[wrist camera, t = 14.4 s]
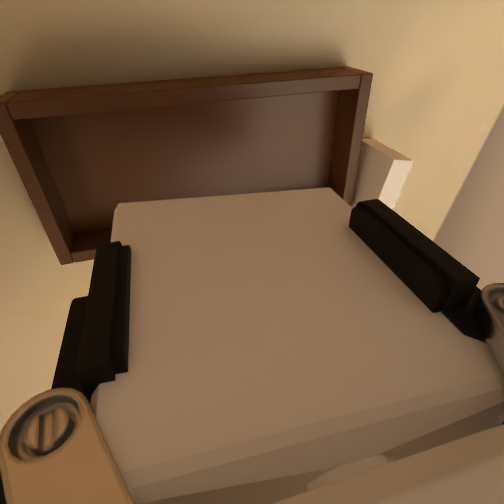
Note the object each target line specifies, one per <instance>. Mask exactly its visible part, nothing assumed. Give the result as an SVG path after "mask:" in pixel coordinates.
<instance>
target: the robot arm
mask: <svg viewBox="0 0 504 504" xmlns="http://www.w3.org/2000/svg"><path fill="white" fill-rule="evenodd" d="M349 228H350V229H351V230H352V231H353V232H354V233H355V234H356V235H357V236H358V237H359V238H360V239H361V240H362V241H363V242H364V243H365V244H366V245H367V246H368V247H369V248H370V249H371V250H372V251H373V252H374V253H375V254H376V255H377V256H378V257H379V258H380V259H381V260H382V261H383V262H384V263H385V265H386V266H387V267H388V268H389V269H390V270H391V271H392V272H393V273H394V274H395V275H396V276H397V277H398V278H399V279H400V280H401V281H402V282H403V283H404V284H405V285H406V286H407V287H408V288H409V289H410V290H411V291H412V292H413V293H414V294H415V295H416V296H417V297H418V298H419V299H420V300H421V301H422V302H423V303H424V305H425V306H426V307H427V308H428V309H429V310H430V311H431V312H432V313H436V312H441V313H442V314H443V315H444V316H445V317H446V318H447V319H448V320H449V321H450V322H451V323H452V324H453V325H454V326H455V327H456V328H457V329H458V330H459V331H460V332H461V333H462V334H463V335H465V336H468V337H471V338H474V339H476V340H479V341H482V342H484V343H487V345H488V347H489V349H490V350H491V352H492V354H493V356H494V358H495V360H496V362H497V364H498V366H499V368H500V370H501V372H502V374H503V376H504V283H493V284H490V285H487V286H485V287H484V288H483V289H482V291H481V290H480V289H479V288H478V287H476V285H477V283H478V281H479V279H480V278H479V277H478V276H476V275H475V274H474V273H472V272H471V271H470V270H468V269H467V268H466V267H465V266H463V265H462V264H461V263H460V262H458V261H457V260H456V259H454V258H453V257H452V256H451V255H449V254H448V253H447V252H446V251H444V250H443V249H442V248H440V247H439V246H438V245H437V244H435V243H434V242H433V241H432V240H430V239H429V238H428V237H426V236H425V235H424V234H423V233H421V232H420V231H419V230H417V229H416V228H415V227H414V226H412V225H411V224H410V223H408V222H407V221H406V220H405V219H403V218H402V217H401V216H400V215H398V214H397V213H396V212H394V211H393V210H392V209H391V208H389V207H388V206H387V205H385V204H384V203H383V202H382V201H380V200H379V199H372V200H365V201H359V202H358V203H357V204H356V207H354V208H352V210H351V215H350V221H349ZM130 282H131V248H130V245H124V246H122V244H121V242H120V241H116V242H110V243H104V244H98V245H97V249H96V254H95V260H94V266H93V271H92V277H91V283H90V288H89V294H88V296H85V297H80V298H75V299H74V300H72V303H71V306H70V310H69V314H68V319H67V323H66V327H65V332H64V336H63V340H62V345H61V349H60V353H59V358H58V362H57V366H56V371H55V375H54V379H53V384H52V388H51V389H50V390H47V391H45V392H42V393H40V394H38V395H36V396H34V397H33V398H31V399H30V400H28V401H27V402H25V403H24V404H22V405H21V406H20V407H19V408H18V409H17V410H16V411H15V412H14V413H13V414H12V415H11V417H10V418H9V419H8V421H7V422H6V424H5V425H4V427H3V428H2V431H1V434H0V504H136V503H135V501H134V499H133V497H132V495H131V493H130V491H129V489H128V487H127V485H126V483H125V480H124V478H123V476H122V474H121V472H120V470H119V468H118V465H117V463H116V461H115V459H114V457H113V454H112V452H111V450H110V448H109V446H108V443H107V441H106V439H105V437H104V435H103V432H102V430H101V428H100V426H99V424H98V421H97V419H96V417H95V414H94V412H93V409H92V407H91V406H90V403H91V395H92V394H93V392H94V391H95V389H96V388H97V387H98V385H99V384H101V383H106V382H111V381H115V374H120V373H126V372H128V354H129V318H130ZM272 504H504V422H503V423H502V424H501V425H499V426H496V427H493V428H490V429H487V430H484V431H481V432H478V433H475V434H472V435H469V436H466V437H464V438H461V439H458V440H455V441H452V442H449V443H446V444H443V445H440V446H437V447H434V448H431V449H429V450H426V451H423V452H420V453H417V454H414V455H411V456H408V457H405V458H402V459H399V460H397V461H394V462H391V463H388V464H385V465H382V466H379V467H376V468H373V469H370V470H367V471H365V472H362V473H359V474H356V475H353V476H350V477H347V478H344V479H341V480H338V481H336V482H333V483H330V484H327V485H324V486H321V487H318V488H315V489H313V490H310V491H307V492H304V493H301V494H298V495H295V496H293V497H290V498H287V499H284V500H281V501H278V502H275V503H272Z"/></svg>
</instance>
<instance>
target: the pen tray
mask: <svg viewBox="0 0 504 504" xmlns="http://www.w3.org/2000/svg"><path fill="white" fill-rule="evenodd" d="M372 76H373V74H372V73H370V72H366V71H362V70H359V69H355V68H351V67H334V68H321V69H307V70H294V71H281V72H267V73H254V74H240V75H227V76H213V77H200V78H187V79H173V80H160V81H146V82H133V83H119V84H106V85H93V86H79V87H66V88H52V89H39V90H25V91H12V92H6V93H5V94H3V95H2V96H0V134H1V136H2V138H3V140H4V142H5V145H6V147H7V149H8V151H9V153H10V155H11V158H12V160H13V162H14V164H15V166H16V168H17V171H18V173H19V175H20V177H21V179H22V182H23V184H24V186H25V188H26V190H27V192H28V195H29V197H30V199H31V201H32V203H33V205H34V208H35V210H36V212H37V214H38V216H39V218H40V221H41V223H42V225H43V227H44V229H45V231H46V234H47V236H48V238H49V240H50V242H51V244H52V247H53V249H54V251H55V253H56V255H57V257H58V260H59V262H60V264H61V265H63V264H69V263H73V262H81V261H87V260H92V259H95V254H96V249H97V245H98V244H104V243H110V242H111V234H112V226H113V218H114V211H115V209H116V207H117V205H118V204H119V203H129V202H143V201H156V200H169V199H182V198H196V197H209V196H222V195H235V194H249V193H262V192H275V191H288V190H302V189H315V188H328V187H330V188H331V189H332V190H333V191H334V192H335V193H336V194H338V195H339V196H340V197H341V198H342V199H343V200H344V201H345V202H346V203H347V204H348V205H349V206H350V207H351V204H352V198H353V191H354V185H355V179H356V173H357V167H358V161H359V155H360V149H361V143H362V137H363V131H364V125H365V119H366V113H367V107H368V101H369V95H370V88H371V82H372Z"/></svg>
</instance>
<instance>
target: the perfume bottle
mask: <svg viewBox="0 0 504 504" xmlns="http://www.w3.org/2000/svg"><path fill="white" fill-rule="evenodd" d="M351 210H352V207H350V206H349V205H348V204H347V203H346V202H345V201H344V200H343V199H342V198H341V197H340V196H339V195H338V194H336V193H335V192H334V191H333V190H332V189H331V188H330V187H328V188H315V189H302V190H288V191H275V192H262V193H249V194H235V195H222V196H209V197H196V198H182V199H169V200H156V201H143V202H129V203H119V204H118V205H117V207H116V209H115V211H114V218H113V226H112V234H111V242H116V241H120V242H121V244H122V246H124V245H130V248H131V282H130V318H129V354H128V372H126V373H120V374H115V381H111V382H106V383H101V384H99V385H98V387H97V388H96V389H95V391H94V392H93V394H92V395H91V403H90V406H91V407H92V409H93V412H94V414H95V417H96V419H97V421H98V424H99V426H100V428H101V430H102V432H103V435H104V437H105V439H106V441H107V443H108V446H109V448H110V450H111V452H112V454H113V457H114V459H115V461H116V463H117V465H118V468H119V470H120V472H121V474H122V476H123V478H124V480H125V483H126V485H127V487H128V489H129V491H130V493H131V495H132V497H133V499H134V501H135V503H136V504H272V503H275V502H278V501H281V500H284V499H287V498H290V497H293V496H295V495H298V494H301V493H304V492H307V491H310V490H313V489H315V488H318V487H321V486H324V485H327V484H330V483H333V482H336V481H338V480H341V479H344V478H347V477H350V476H353V475H356V474H359V473H362V472H365V471H367V470H370V469H373V468H376V467H379V466H382V465H385V464H388V463H391V462H394V461H397V460H399V459H402V458H405V457H408V456H411V455H414V454H417V453H420V452H423V451H426V450H429V449H431V448H434V447H437V446H440V445H443V444H446V443H449V442H452V441H455V440H458V439H461V438H464V437H466V436H469V435H472V434H475V433H478V432H481V431H484V430H487V429H490V428H493V427H496V426H499V425H501V424H502V423H503V422H504V376H503V374H502V372H501V370H500V368H499V366H498V364H497V362H496V360H495V358H494V356H493V354H492V352H491V350H490V349H489V347H488V345H487V343H484V342H482V341H479V340H476V339H474V338H471V337H468V336H465V335H463V334H462V333H461V332H460V331H459V330H458V329H457V328H456V327H455V326H454V325H453V324H452V323H451V322H450V321H449V320H448V319H447V318H446V317H445V316H444V315H443V314H442V313H441V312H436V313H432V312H431V311H430V310H429V309H428V308H427V307H426V306H425V305H424V303H423V302H422V301H421V300H420V299H419V298H418V297H417V296H416V295H415V294H414V293H413V292H412V291H411V290H410V289H409V288H408V287H407V286H406V285H405V284H404V283H403V282H402V281H401V280H400V279H399V278H398V277H397V276H396V275H395V274H394V273H393V272H392V271H391V270H390V269H389V268H388V267H387V266H386V265H385V263H384V262H383V261H382V260H381V259H380V258H379V257H378V256H377V255H376V254H375V253H374V252H373V251H372V250H371V249H370V248H369V247H368V246H367V245H366V244H365V243H364V242H363V241H362V240H361V239H360V238H359V237H358V236H357V235H356V234H355V233H354V232H353V231H352V230H351V229H350V228H349V221H350V215H351Z"/></svg>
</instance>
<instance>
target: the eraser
mask: <svg viewBox="0 0 504 504" xmlns="http://www.w3.org/2000/svg"><path fill="white" fill-rule="evenodd" d="M413 164H414V161H413V160H411V159H409V158H407V157H406V156H404V155H402V154H400V153H398V152H396V151H395V150H393V149H391V148H389V147H387V146H385V145H383V144H382V143H380V142H378V141H376V140H374V139H367V138H362V143H361V149H360V155H359V161H358V167H357V173H356V179H355V185H354V191H353V198H352V204H351V207H352V208H354V207H356V204H357V203H358V202H359V201H365V200H372V199H379V200H380V201H382V202H383V203H384V204H385V205H387V206H388V207H389V208H391V209H392V210H393V209H394V207H395V205H396V202H397V200H398V198H399V196H400V193H401V191H402V189H403V186H404V184H405V182H406V180H407V177H408V175H409V173H410V170H411V168H412V166H413Z"/></svg>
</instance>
